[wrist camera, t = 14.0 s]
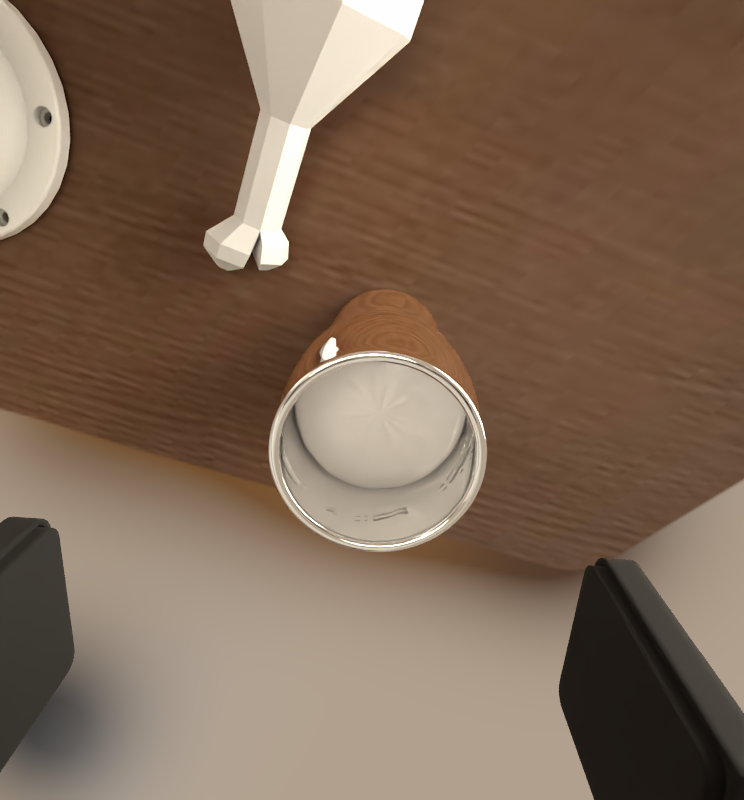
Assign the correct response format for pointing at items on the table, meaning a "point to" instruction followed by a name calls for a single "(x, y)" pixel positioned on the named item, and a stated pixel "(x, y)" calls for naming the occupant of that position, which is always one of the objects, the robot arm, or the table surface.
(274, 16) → the chicken leg
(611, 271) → the table surface
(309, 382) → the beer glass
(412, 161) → the table surface
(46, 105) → the robot arm
